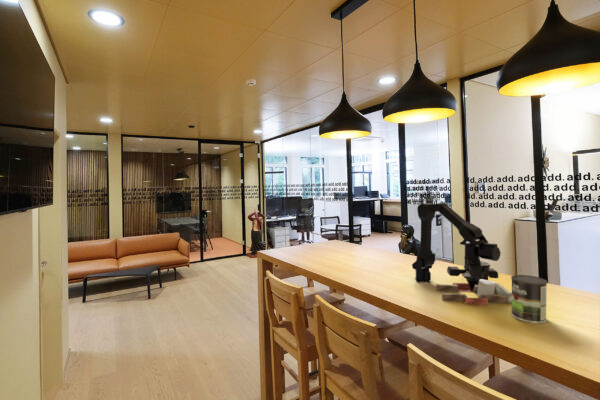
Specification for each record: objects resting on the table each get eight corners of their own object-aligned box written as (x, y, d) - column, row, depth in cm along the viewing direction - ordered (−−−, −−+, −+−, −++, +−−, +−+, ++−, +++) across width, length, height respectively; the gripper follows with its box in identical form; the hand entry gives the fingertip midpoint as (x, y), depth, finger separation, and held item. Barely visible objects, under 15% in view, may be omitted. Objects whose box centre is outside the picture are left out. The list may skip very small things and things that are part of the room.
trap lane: (444, 303, 126) (444, 293, 126) (434, 287, 146) (434, 278, 146) (516, 306, 120) (516, 296, 120) (495, 289, 140) (495, 280, 140)
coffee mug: (493, 286, 144) (493, 265, 144) (473, 286, 146) (473, 265, 145) (483, 279, 155) (483, 259, 155) (465, 278, 157) (465, 259, 157)
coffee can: (527, 324, 105) (527, 284, 105) (504, 312, 115) (504, 275, 115) (554, 322, 106) (554, 282, 105) (530, 310, 116) (529, 274, 116)
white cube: (493, 295, 133) (495, 281, 133) (493, 299, 128) (495, 285, 128) (477, 291, 137) (479, 278, 136) (476, 295, 132) (478, 282, 131)
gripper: (453, 259, 127) (452, 296, 127) (504, 261, 122) (503, 300, 123) (447, 253, 138) (446, 287, 138) (493, 255, 133) (492, 290, 134)
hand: (471, 291), depth 133 cm, fingers closed
